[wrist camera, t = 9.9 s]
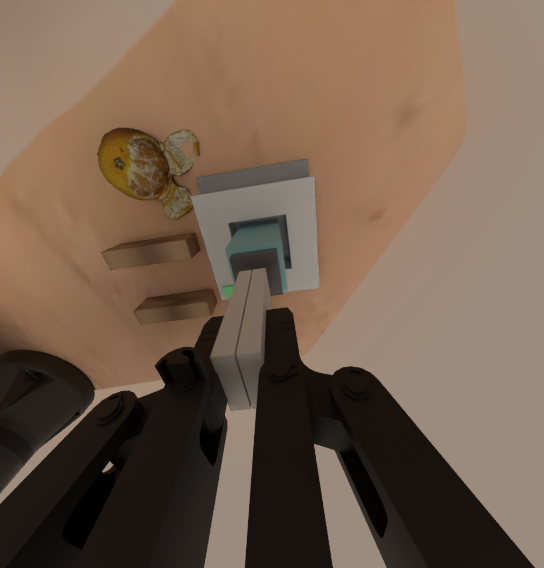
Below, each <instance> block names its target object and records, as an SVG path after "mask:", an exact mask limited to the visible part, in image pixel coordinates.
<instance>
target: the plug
mask: <svg viewBox="0 0 544 568" xmlns="http://www.w3.org/2000/svg"><path fill="white" fill-rule="evenodd" d="M225 252H226V256H227V260H228V264H229V267H230V271H231V275H232V279H233V283H234V285H235V283H236V280H237V277H238V274H239V272H240V271H247V270H252V272H253V270H254V269H262V268H266V273H267V278H268V284H269V290H270V296H273V295H280V294H283V292H288V287H287V279H286V271H285V263H284V255H283V247H282V240H281V234H280V228H279V222H278V218H277V219H270V220H263V221H257V222H250V223H243V224H241V225H240V227H239V228H238V230H237V231H236V233H235V234H234V236H233V237H232V239H231V241H230V242H229V244H228V245H227V247H226V248H225Z"/></svg>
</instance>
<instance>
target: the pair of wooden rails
mask: <svg viewBox="0 0 544 568" xmlns="http://www.w3.org/2000/svg"><path fill="white" fill-rule="evenodd" d="M199 251H200V247H199V244H198V241H197V238H196V234H195V233H190V234H184V235H177V236H170V237H164V238H157V239H151V240H144V241H137V242H131V243H124V244H119V245H117V246H114V247H112V248H110V249H108V250H105V251H103V252H101V254H102V255H103V257H104V259H105V261H106V263H107V265H108V266H109V268H110V270H115V269H122V268H129V267H136V266H143V265H150V264H157V263H164V262H171V261H178V260H185V259H192V258H193V257H194V256H195V255H196V254H197V253H198V252H199ZM216 304H217V301H216V298H215V294H214V291H213V290H206V291H198V292H191V293H183V294H176V295H168V296H161V297H153V298H147V299H146V300H144V301H143V302H142V303H141V304H140V305H139V306H138V307H137V308H136V309H135V310H134V311H133V312H134V314H135V316H136V317H137V319H138V321H139V323H140V325H142V324H150V323H158V322H166V321H174V320H182V319H190V318H198V317H206V316H211V315H212V313H213V311H214V308H215V306H216Z"/></svg>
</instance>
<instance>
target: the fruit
mask: <svg viewBox="0 0 544 568" xmlns="http://www.w3.org/2000/svg"><path fill="white" fill-rule="evenodd" d="M189 138H190V139H191V140H193V142H194V151H193V152H194V155H195V156H197V157H199V155H200V153H199V143H198V141H197V140H196V138H195V136H194V135H193V133H192V132H191V131H189V130H180V131H178V132H174V133H173V134H171V135H170V136H169V137H168V138H167V139H166V141H164V142H161V143H158V142H157V141H156V140H154V139H153V138H152V137H151V136H149V135H147V134H146V133H144V132H141V131H140V130H135V129H130V128H117V129H113V130H112V131H110V132H108V133H106V134H105V135H104V136H103V138H102V141H101V145H100V147H99V151H98V153H97V155H98V158H99V159H98V162H99V167H100V169H101V171H102V173H103V175H104V176H105V178H106V179H107V180H108V182H109V183H110V184H112V185H113V186H114V187H115V188H116V189H118V190H120V191H121V192H123V193H124V194H126V195H128V196H129V197H132V198H135V199H138V200H151V199H155V198H158V199H160V200H161V201H162V203H163V205H164V208H165V215H166V216H167V217H168V218H170V219H173V220H176V219H178V218H179V217H180V216H182V215H185V214H186V213H188V212H189V211H190V210H191V209H192V208H193V203H192V200H191V198H189V196H190V195H191V193H190V192H189V191H188V190H187V189H186V188H180V187H177V186H176V185H175V184H174V182H173V181H172V175H173V174H176V175H178V176H180V175H181V174H183V173H186V171H187V170H190V169H191V167H192V165H193V160H192V159H191V158H190V157H188V158H187V157H186V156H185V155H184V154H183V153H182V151H181V146H182V144H183V143H182V142H181V140H182V139H184V142H185V143H188V139H189ZM185 202H188V203H190V204H189V205H188V206H184V203H185Z"/></svg>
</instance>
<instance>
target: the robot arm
mask: <svg viewBox="0 0 544 568" xmlns="http://www.w3.org/2000/svg"><path fill="white" fill-rule="evenodd" d="M155 367H156V369H157V371H158V373H159V374H160V376H161V378H162V379H163V381H164V383H165V386H164V388H163V389H161V390H159V391H156V392H153V393H151V394H148V395H146V396H143V397H140V398H137V396H136V395H135V393H133V392H131V391H120V392H118V393H115V394H112V395H111V396H109V397H107V398H106V399H104V400H102V401H101V402H100V403H99V404H98V405H97V406H96V407H94V408H93V409H92V410H91V411H90V412H89V413H88V414H87V416H86V417H84V418H83V420H81V422H80V423H79V424H78V425H77V426H76V427H75V428H74V429H73V430H72V431H71V432H70V433H69V434H68V435H67V436H66V437H65V438H64V439H63V440H62V441H61V442H60V443H59V444H58V445H57V446H56V447H55V448H54V449H53V450H52V451H51V452H50V453H49V454H48V455H47V457H46V458H44V460H43V461H42V462H41V463H40V464H39V465H38V466H37V467H36V468H35V469H34V470H33V471H32V472H31V473H30V474H29V475H28V476H27V477H26V478H25V479H24V480H23V481H22V482H21V483H20V484H19V485H18V486H17V487H16V488H15V489H14V490H13V491H12V492H11V494H9V496H7V498H6V499H5V500H4V501H3V502H2V503H1V504H0V568H204V564H205V558H206V552H207V546H208V540H209V534H210V528H211V523H212V522H211V521H212V517H213V510H214V505H215V499H216V493H217V487H218V481H219V474H220V469H221V463H222V457H223V451H224V445H225V439H226V433H227V419H226V417H225V411H226V406H227V403H228V405H229V408H230V410H231V411H233V410H242V409H243V410H244V409H251V405H252V407H253V408H256V420H255V434H254V447H253V448H254V449H253V461H252V475H251V490H250V504H249V518H248V532H247V545H246V560H245V568H333V566H332V559H331V553H330V546H329V540H328V533H327V527H326V520H325V514H324V507H323V501H322V494H321V488H320V482H319V475H318V468H317V462H316V455H315V449H314V444H317V445H320V446H323V447H326V448H330V449H333V450H335V452H336V454H337V457H338V459H339V461H340V463H341V465H342V468H343V470H344V472H345V475H346V477H347V479H348V481H349V484H350V486H351V488H352V490H353V493H354V495H355V497H356V499H357V502H358V504H359V506H360V508H361V511H362V513H363V515H364V517H365V520H366V522H367V524H368V526H369V529H370V531H371V533H372V535H373V538H374V540H375V542H376V544H377V547H378V549H379V551H380V553H381V555H382V558H383V560H384V562H385V565H386V567H387V568H535V567H534V566H533V565H532V564H531V563H530V561H529V560H528V559H527V558H526V557H525V555H524V554H523V553H522V552H521V551H520V549H519V548H518V547H517V546H516V545H515V543H514V542H513V541H512V540H511V539H510V537H509V536H508V535H507V534H506V533H505V531H504V530H503V529H502V528H501V527H500V525H499V524H498V523H497V522H496V520H494V518H493V517H492V516H491V515H490V513H489V512H488V511H487V510H486V508H485V507H484V506H483V505H482V504H481V503H480V501H479V500H478V499H477V498H476V497H475V495H474V494H473V493H472V492H471V490H470V489H469V488H468V487H467V486H466V484H465V483H464V482H463V481H462V480H461V478H460V477H459V476H458V475H457V474H456V473H455V471H454V470H453V469H452V468H451V466H450V465H449V464H448V463H447V462H446V460H445V459H444V458H443V457H442V456H441V454H440V453H439V452H438V451H437V450H436V448H435V447H434V446H433V445H432V444H431V442H430V441H429V440H428V439H427V438H426V436H425V435H424V434H423V433H422V432H421V430H420V429H419V428H418V427H417V426H416V424H415V423H414V422H413V421H412V420H411V418H410V417H409V416H408V415H407V414H406V412H405V411H404V410H403V409H402V408H401V406H400V405H399V404H398V403H397V402H396V400H395V399H394V398H393V397H392V396H391V394H390V393H389V392H388V391H387V390H386V388H385V387H384V386H383V385H382V384H381V382H380V381H379V380H378V379H377V378H376V377H375V376H374V375H373V374H371V373H370V372H368V371H366V370H364V369H362V368H358V367H352V366H350V367H343V368H341V369H339V370H337V371H335V373H334V374H333V375H329V374H323V373H319V372H315V371H313V370H311V369H309V368H308V367H307V366H306V365H304V363H303V362H302V361H301V358H300V355H299V349H298V343H297V337H296V330H295V324H294V318H293V313H292V312H291V311H290V310H289V309H288V308H287V307H286V308H278V309H272V302H271V296H270V290H269V284H268V278H267V273H266V268H262V269H254V270H253V272H252V270H247V271H240V272H239V274H238V277H237V280H236V283H235V285H234V288H233V291H232V294H231V297H230V300H229V303H228V306H227V309H226V312H225V315H224V316H219V317H212V318H211V319H210V320H209V321H208V322H207V323H206V324H205V325H204V327H203V329H202V331H201V335H200V336H199V338H198V342H196V344H195V347H194V348H193V347H182V348H178V349H175V350H173V351H171V352H169V353H168V354H166V355H165V356H164V357H162V358H161V359H160V360H159V361H158V363H157V364H156V365H155ZM93 400H94V389H93V386H92V384H91V383H90V381H89V380H88V379H87V378H86V377H85V376H84V375H83V374H82V373H81V372H80V371H79V370H77V369H76V368H75V367H73V366H71V365H70V364H68V363H66V362H64V361H62V360H60V359H58V358H55V357H53V356H50V355H46V354H43V353H38V352H33V351H10V352H7V353H4V354H2V355H0V493H1V492H2V491H3V490H4V488H5V487H6V486H7V485H8V484H9V483H10V481H11V480H12V479H13V478H14V477H15V476H16V474H17V473H18V472H19V471H20V470H21V468H22V467H23V466H24V465H25V464H26V463H27V461H28V460H29V459H30V458H31V457H32V455H33V454H34V453H35V452H36V451H37V450H38V449H39V448H40V447H42V446H43V445H44V444H45V443H47V442H48V441H49V440H51V439H52V438H53V437H54V436H56V435H57V434H58V433H60V432H61V431H62V430H63V429H65V428H66V427H67V426H68V425H70V424H71V423H72V422H73V421H74V420H76V419H77V418H79V417H80V416H81V415H82V414H83V413H84V412H85V410H86V409H87V408H88V406H89V405H90V404H91V403H92V401H93ZM109 461H110V462H111V463H112V464H113V466H112V467H111V469H110V470H108V471H106V472H104V473H103V472H102V471H103V469H104V468H105V466H106V465H107V464H108V463H109Z"/></svg>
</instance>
